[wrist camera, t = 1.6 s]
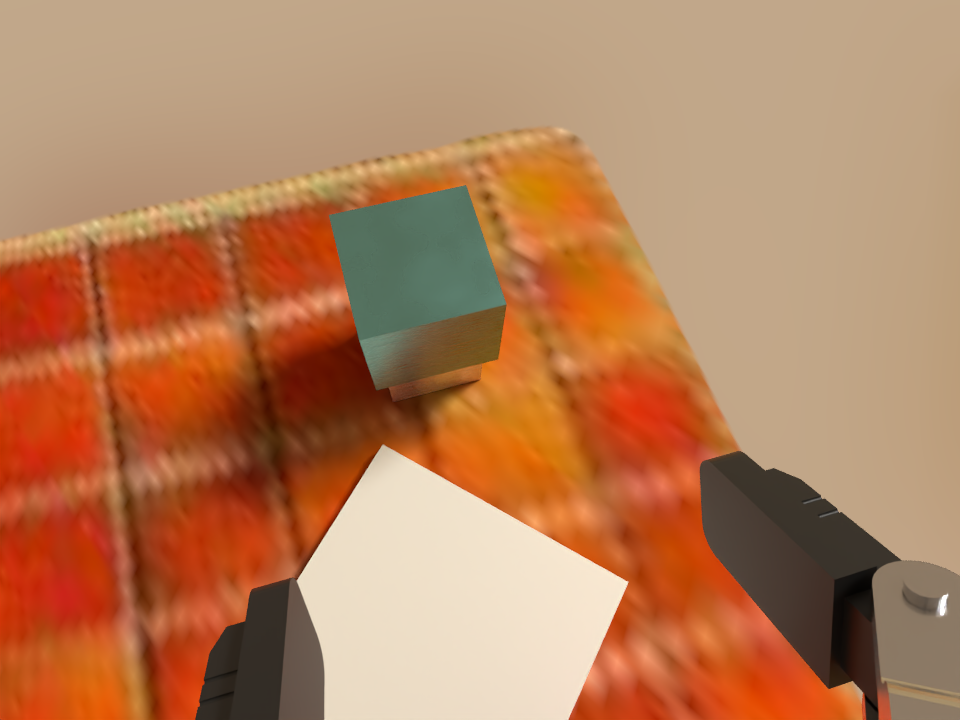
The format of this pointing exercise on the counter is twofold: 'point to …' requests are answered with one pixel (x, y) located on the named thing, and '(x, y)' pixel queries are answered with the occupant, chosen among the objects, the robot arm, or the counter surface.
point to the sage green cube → (420, 286)
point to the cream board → (449, 606)
